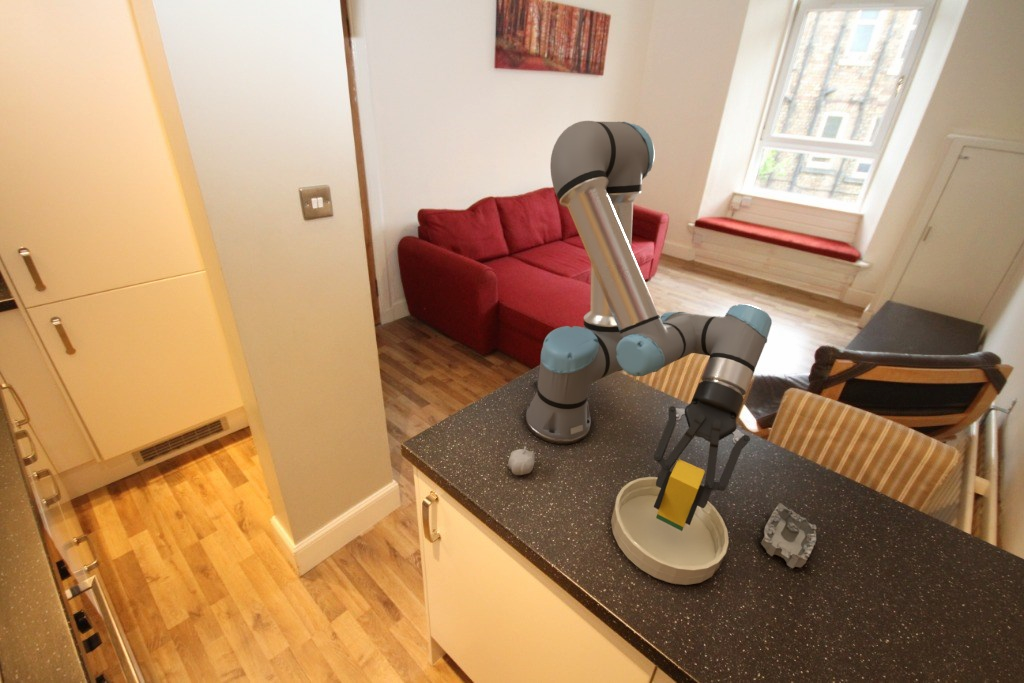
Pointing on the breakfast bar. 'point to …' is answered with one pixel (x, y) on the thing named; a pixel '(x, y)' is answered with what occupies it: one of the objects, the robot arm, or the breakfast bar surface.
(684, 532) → the pan
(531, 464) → the garlic
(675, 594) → the breakfast bar surface
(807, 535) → the egg carton
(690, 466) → the sponge
